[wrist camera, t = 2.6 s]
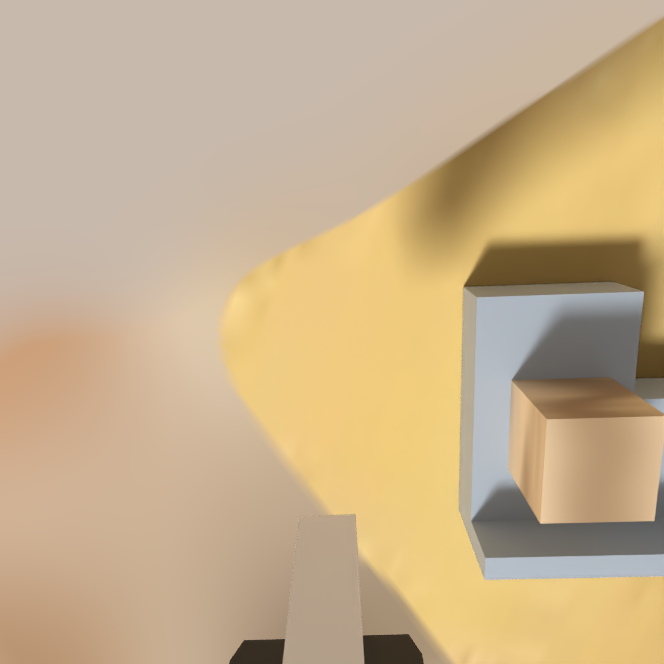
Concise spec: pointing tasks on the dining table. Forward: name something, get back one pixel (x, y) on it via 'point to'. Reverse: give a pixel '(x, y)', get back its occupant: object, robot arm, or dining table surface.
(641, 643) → the dining table surface
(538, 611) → the dining table surface
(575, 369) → the tray
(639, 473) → the oak block
